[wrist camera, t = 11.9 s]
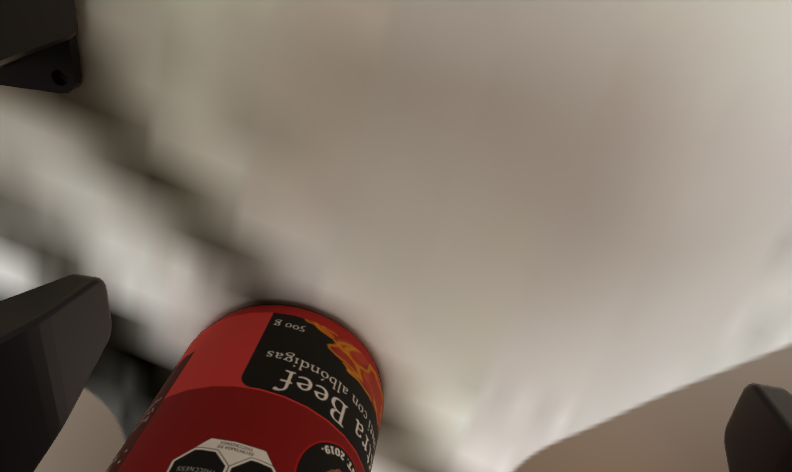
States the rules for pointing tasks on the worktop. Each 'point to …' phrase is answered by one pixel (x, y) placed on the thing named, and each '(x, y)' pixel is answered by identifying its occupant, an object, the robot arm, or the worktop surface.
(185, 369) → the canned food
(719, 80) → the worktop surface
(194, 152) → the worktop surface
